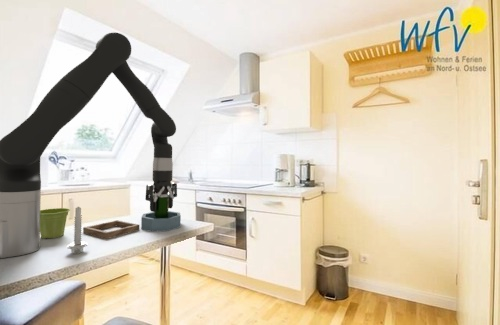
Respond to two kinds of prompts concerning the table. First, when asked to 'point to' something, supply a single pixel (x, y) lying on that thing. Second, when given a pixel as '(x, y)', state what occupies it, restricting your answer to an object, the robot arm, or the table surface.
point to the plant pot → (53, 222)
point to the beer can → (162, 206)
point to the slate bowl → (160, 222)
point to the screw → (77, 234)
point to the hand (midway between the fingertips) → (161, 209)
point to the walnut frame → (97, 231)
